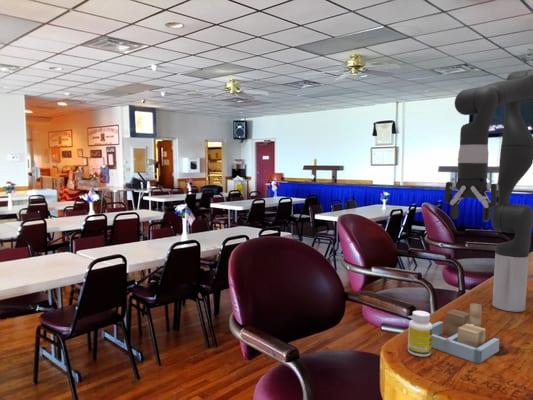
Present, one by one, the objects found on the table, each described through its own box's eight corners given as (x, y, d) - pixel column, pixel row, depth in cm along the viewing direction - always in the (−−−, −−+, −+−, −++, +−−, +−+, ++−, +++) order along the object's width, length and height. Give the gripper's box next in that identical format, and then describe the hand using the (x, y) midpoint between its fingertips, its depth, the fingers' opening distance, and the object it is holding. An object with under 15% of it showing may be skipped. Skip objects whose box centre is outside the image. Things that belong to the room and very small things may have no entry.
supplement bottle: (433, 358, 103) (434, 318, 102) (409, 356, 104) (410, 316, 103) (429, 348, 108) (431, 310, 107) (406, 346, 109) (408, 308, 108)
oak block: (465, 346, 110) (466, 323, 109) (484, 352, 106) (485, 328, 106) (456, 351, 107) (457, 327, 106) (475, 358, 103) (477, 333, 103)
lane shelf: (438, 331, 119) (439, 321, 119) (498, 351, 107) (499, 339, 107) (416, 342, 112) (417, 330, 112) (478, 364, 100) (479, 351, 100)
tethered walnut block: (469, 322, 126) (470, 301, 126) (485, 326, 123) (486, 306, 122) (445, 334, 117) (446, 312, 117) (462, 339, 114) (463, 317, 113)
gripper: (505, 162, 118) (502, 221, 119) (454, 161, 128) (451, 216, 130) (493, 161, 113) (490, 224, 114) (441, 161, 124) (438, 218, 125)
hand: (469, 219), depth 122 cm, fingers open, 8 cm apart
